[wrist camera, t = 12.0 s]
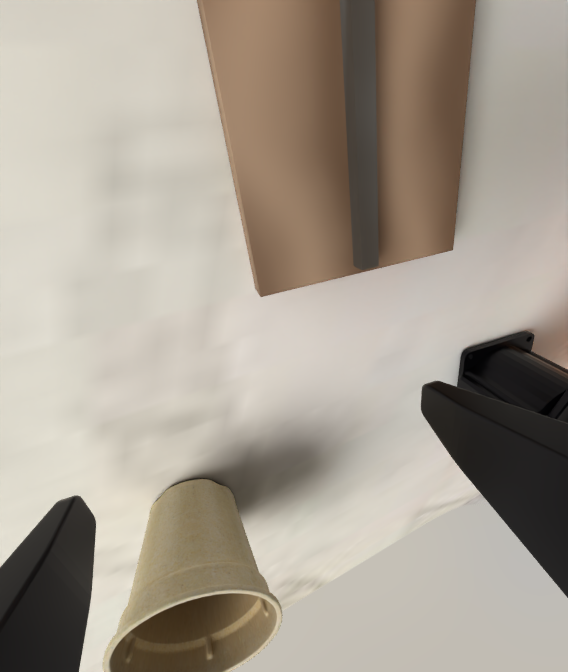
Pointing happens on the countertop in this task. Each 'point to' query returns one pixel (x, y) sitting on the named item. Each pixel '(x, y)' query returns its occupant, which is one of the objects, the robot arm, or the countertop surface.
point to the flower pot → (194, 589)
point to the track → (341, 129)
